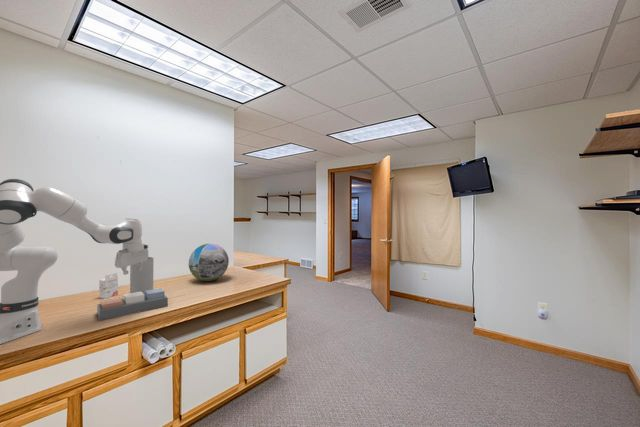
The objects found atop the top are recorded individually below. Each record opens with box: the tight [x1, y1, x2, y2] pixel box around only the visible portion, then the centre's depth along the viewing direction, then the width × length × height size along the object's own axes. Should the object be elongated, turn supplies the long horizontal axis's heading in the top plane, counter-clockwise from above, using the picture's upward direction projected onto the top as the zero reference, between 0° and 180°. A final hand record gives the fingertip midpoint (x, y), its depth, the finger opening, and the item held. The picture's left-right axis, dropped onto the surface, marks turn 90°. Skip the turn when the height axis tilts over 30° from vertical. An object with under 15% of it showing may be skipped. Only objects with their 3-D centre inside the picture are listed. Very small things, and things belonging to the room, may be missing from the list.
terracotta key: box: [100, 297, 123, 309], centre depth 142 cm, size 8×8×4 cm
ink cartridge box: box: [98, 272, 119, 300], centre depth 171 cm, size 9×5×15 cm, turn 168°
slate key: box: [145, 287, 165, 301], centre depth 156 cm, size 8×8×4 cm
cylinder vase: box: [129, 256, 154, 296], centre depth 171 cm, size 12×12×25 cm
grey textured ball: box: [188, 243, 230, 282], centre depth 213 cm, size 30×30×30 cm
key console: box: [96, 294, 169, 321], centre depth 149 cm, size 31×13×5 cm, turn 134°
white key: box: [123, 292, 144, 305], centre depth 149 cm, size 8×8×4 cm
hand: (132, 272), depth 147 cm, fingers open, 8 cm apart
